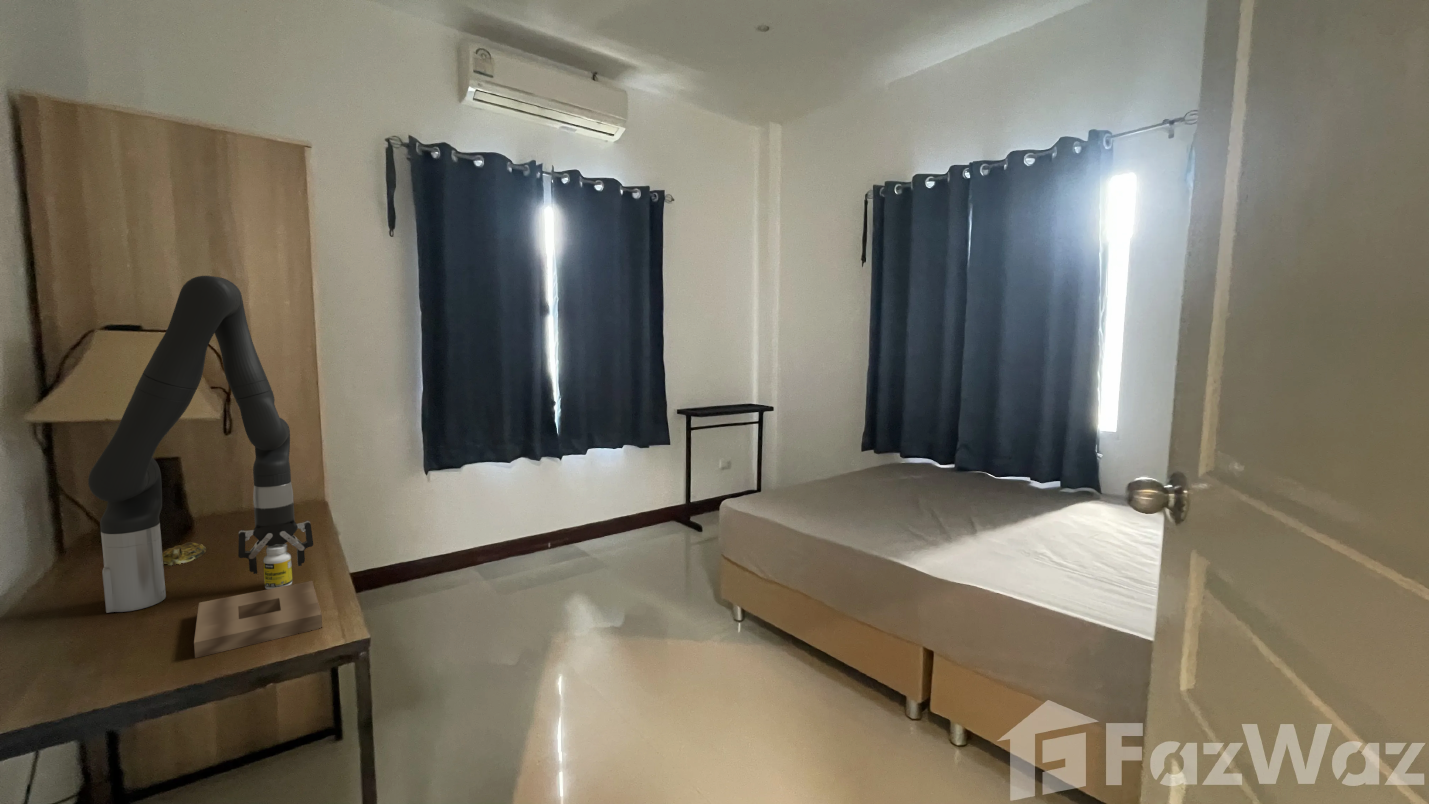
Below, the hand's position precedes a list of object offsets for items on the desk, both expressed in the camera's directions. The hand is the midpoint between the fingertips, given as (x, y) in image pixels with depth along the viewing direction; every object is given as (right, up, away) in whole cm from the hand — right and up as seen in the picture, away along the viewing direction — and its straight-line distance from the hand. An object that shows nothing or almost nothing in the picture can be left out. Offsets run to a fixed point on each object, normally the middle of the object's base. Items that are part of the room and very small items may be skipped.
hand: (278, 568), depth 144 cm
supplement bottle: (0, -4, +1) cm, 4 cm away
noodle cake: (-37, -2, +17) cm, 41 cm away
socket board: (+8, -7, -17) cm, 20 cm away
